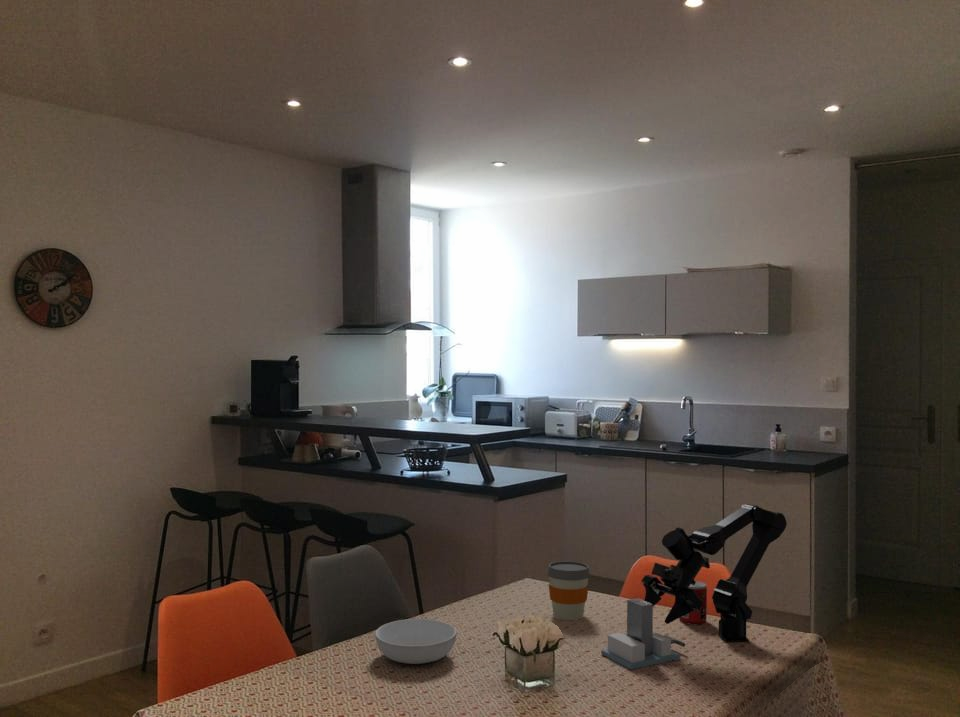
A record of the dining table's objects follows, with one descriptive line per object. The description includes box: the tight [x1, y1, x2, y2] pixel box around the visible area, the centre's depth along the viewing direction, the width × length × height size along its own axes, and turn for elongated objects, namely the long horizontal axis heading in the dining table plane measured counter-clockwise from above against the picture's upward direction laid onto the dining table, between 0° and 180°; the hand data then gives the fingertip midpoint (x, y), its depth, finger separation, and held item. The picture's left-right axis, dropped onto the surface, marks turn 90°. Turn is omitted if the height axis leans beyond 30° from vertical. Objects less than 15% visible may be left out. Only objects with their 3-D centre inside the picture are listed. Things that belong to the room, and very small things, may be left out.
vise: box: [601, 631, 686, 670], centre depth 214 cm, size 20×12×5 cm, turn 118°
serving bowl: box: [374, 618, 458, 665], centre depth 212 cm, size 21×21×7 cm
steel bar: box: [626, 598, 654, 656], centre depth 213 cm, size 4×6×13 cm, turn 28°
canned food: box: [678, 580, 708, 625], centre depth 244 cm, size 8×8×11 cm
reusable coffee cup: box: [547, 560, 591, 621], centre depth 248 cm, size 13×13×15 cm
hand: (654, 617), depth 216 cm, fingers open, 9 cm apart
